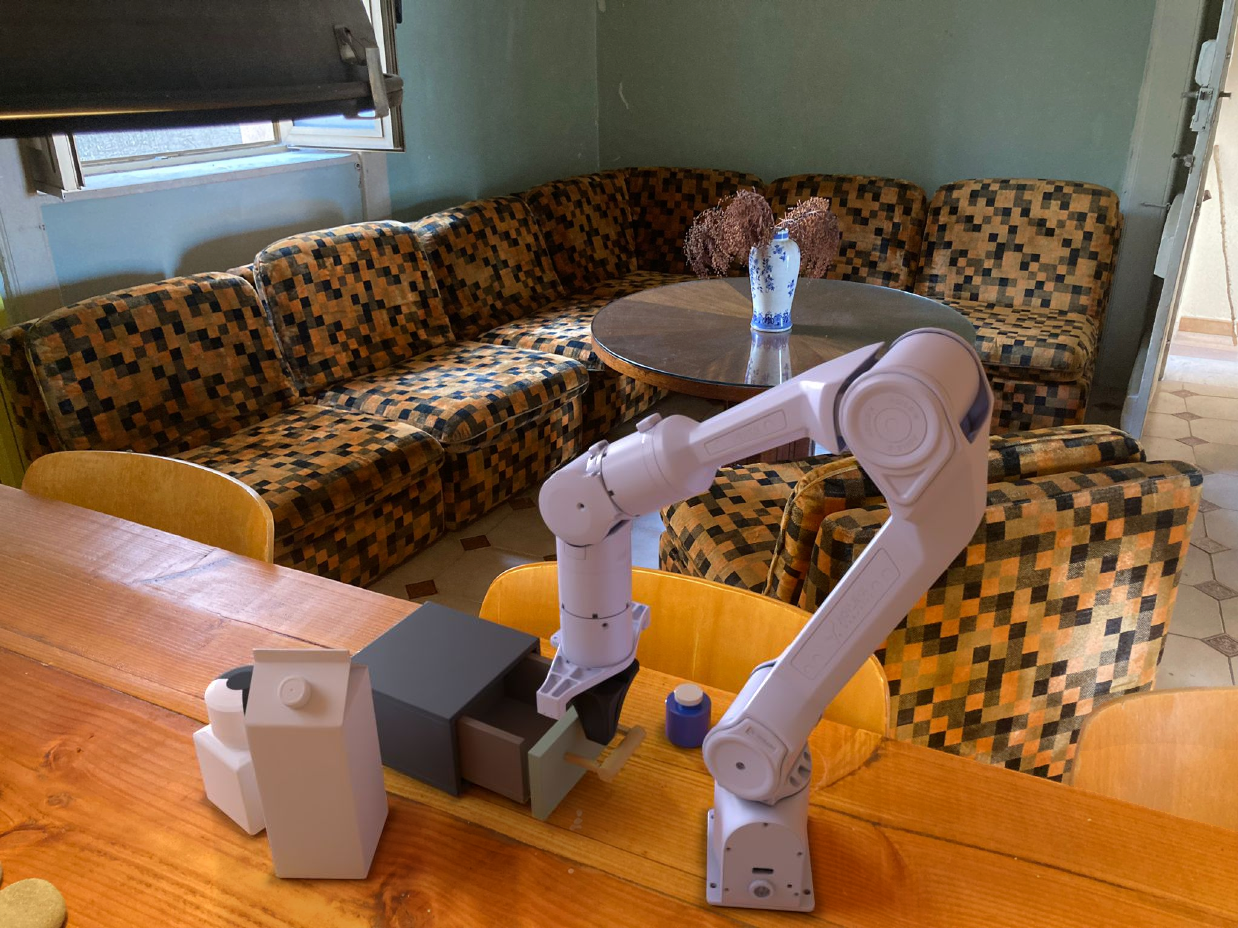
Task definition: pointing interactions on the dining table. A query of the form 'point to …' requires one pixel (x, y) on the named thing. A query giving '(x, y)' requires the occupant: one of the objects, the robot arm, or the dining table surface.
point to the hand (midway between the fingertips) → (599, 737)
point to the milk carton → (316, 761)
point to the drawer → (532, 742)
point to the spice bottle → (687, 716)
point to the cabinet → (435, 686)
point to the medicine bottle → (229, 750)
